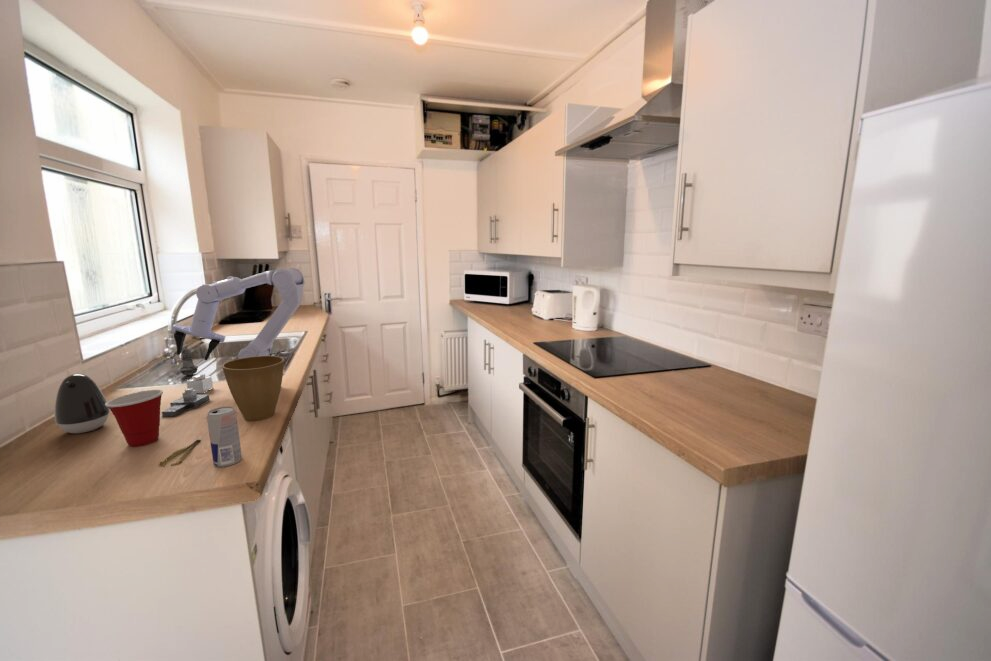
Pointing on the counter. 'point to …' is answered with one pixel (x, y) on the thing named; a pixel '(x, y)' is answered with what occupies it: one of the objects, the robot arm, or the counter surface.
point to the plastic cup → (138, 416)
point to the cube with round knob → (200, 383)
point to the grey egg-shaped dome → (80, 405)
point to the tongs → (179, 453)
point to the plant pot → (255, 384)
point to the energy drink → (224, 436)
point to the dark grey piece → (185, 403)
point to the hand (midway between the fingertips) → (192, 356)
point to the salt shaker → (188, 364)
